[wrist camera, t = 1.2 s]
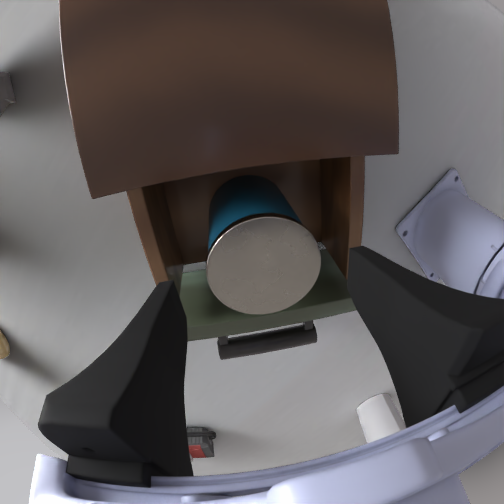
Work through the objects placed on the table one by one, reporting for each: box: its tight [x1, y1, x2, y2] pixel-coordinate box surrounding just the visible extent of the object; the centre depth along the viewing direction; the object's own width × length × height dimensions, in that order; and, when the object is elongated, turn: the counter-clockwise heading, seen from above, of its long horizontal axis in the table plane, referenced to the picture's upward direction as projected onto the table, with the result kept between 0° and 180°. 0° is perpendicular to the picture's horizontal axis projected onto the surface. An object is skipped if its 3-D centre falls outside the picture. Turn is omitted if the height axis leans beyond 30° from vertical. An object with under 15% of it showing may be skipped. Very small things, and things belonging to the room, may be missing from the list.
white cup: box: [356, 393, 406, 443], centre depth 34 cm, size 7×7×10 cm
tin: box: [206, 175, 321, 315], centre depth 15 cm, size 5×5×6 cm
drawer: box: [126, 156, 365, 360], centre depth 17 cm, size 17×12×6 cm
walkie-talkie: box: [186, 427, 216, 462], centre depth 33 cm, size 9×4×20 cm
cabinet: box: [59, 0, 399, 199], centre depth 11 cm, size 14×14×8 cm
